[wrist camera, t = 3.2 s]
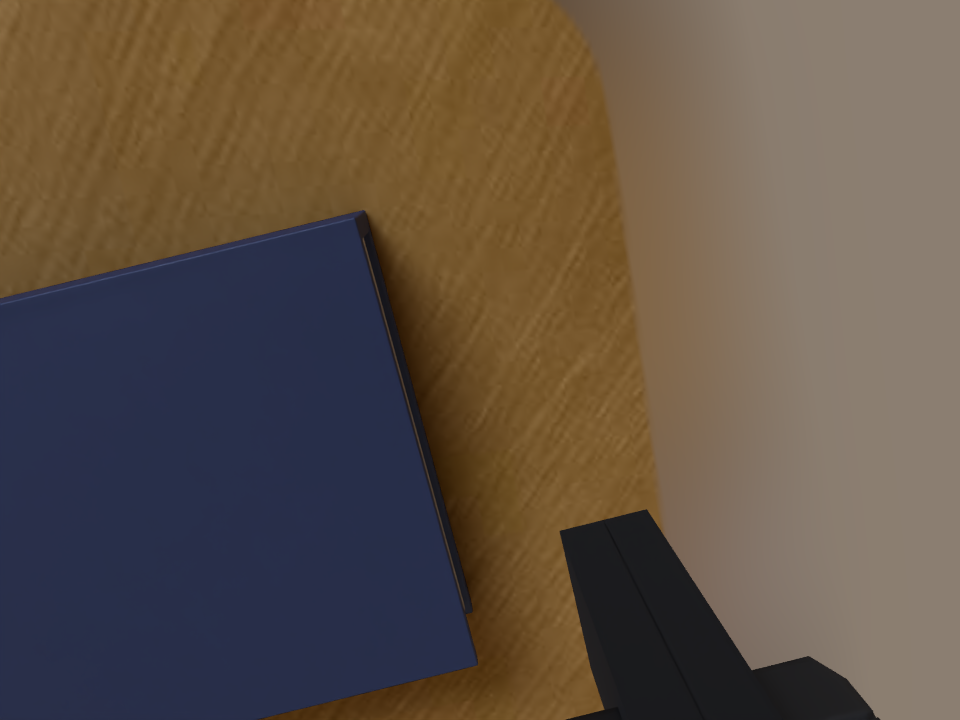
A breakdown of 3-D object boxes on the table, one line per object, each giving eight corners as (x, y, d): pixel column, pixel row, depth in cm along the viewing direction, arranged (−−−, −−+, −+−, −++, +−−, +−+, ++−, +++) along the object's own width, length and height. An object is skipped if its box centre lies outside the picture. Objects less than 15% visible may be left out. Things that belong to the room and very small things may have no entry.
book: (365, 209, 21) (355, 217, 18) (472, 605, 24) (478, 665, 21) (-477, 414, 21) (-624, 455, 18) (-249, 783, 24) (-342, 867, 21)
